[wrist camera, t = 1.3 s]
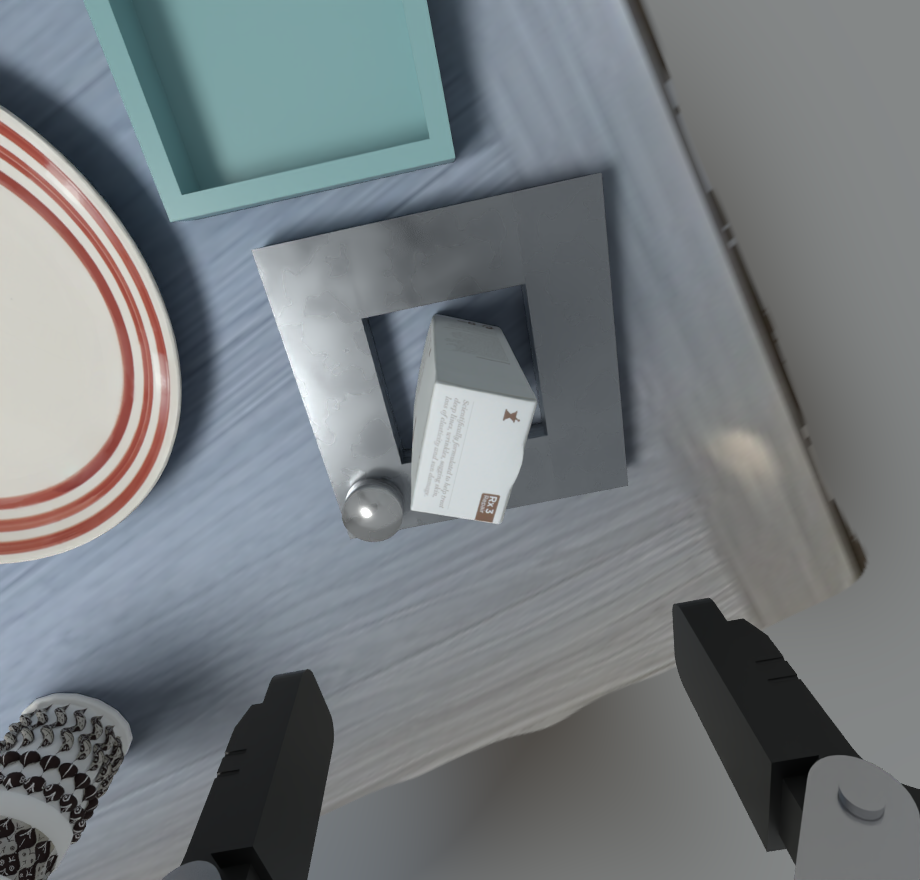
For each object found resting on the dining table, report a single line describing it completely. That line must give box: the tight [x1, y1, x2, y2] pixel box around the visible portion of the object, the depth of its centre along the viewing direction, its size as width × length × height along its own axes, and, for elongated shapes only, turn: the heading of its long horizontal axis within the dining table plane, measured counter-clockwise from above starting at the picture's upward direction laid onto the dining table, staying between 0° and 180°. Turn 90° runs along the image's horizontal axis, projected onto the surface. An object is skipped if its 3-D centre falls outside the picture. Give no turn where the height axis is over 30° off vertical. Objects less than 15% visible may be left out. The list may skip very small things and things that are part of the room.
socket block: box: [252, 173, 628, 542], centre depth 31 cm, size 18×18×4 cm
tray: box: [83, 0, 455, 222], centre depth 24 cm, size 14×14×3 cm
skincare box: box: [410, 314, 537, 524], centre depth 27 cm, size 6×4×12 cm
